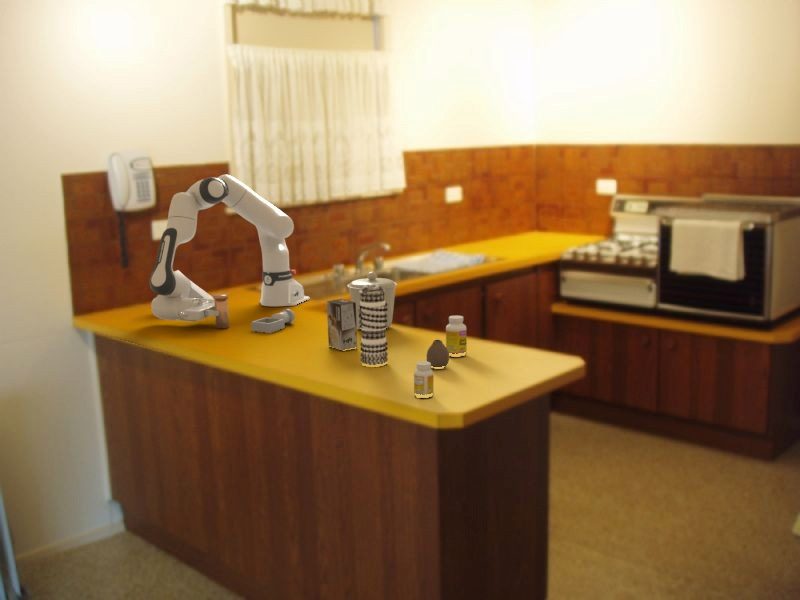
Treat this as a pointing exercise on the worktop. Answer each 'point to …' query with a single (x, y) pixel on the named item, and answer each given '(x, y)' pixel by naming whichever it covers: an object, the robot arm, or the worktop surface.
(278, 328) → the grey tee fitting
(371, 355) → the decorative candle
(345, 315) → the coffee box
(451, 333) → the supplement bottle
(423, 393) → the supplement bottle
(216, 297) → the copper pipe stub
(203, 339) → the worktop surface
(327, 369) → the worktop surface
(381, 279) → the canister
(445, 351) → the vase
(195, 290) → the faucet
